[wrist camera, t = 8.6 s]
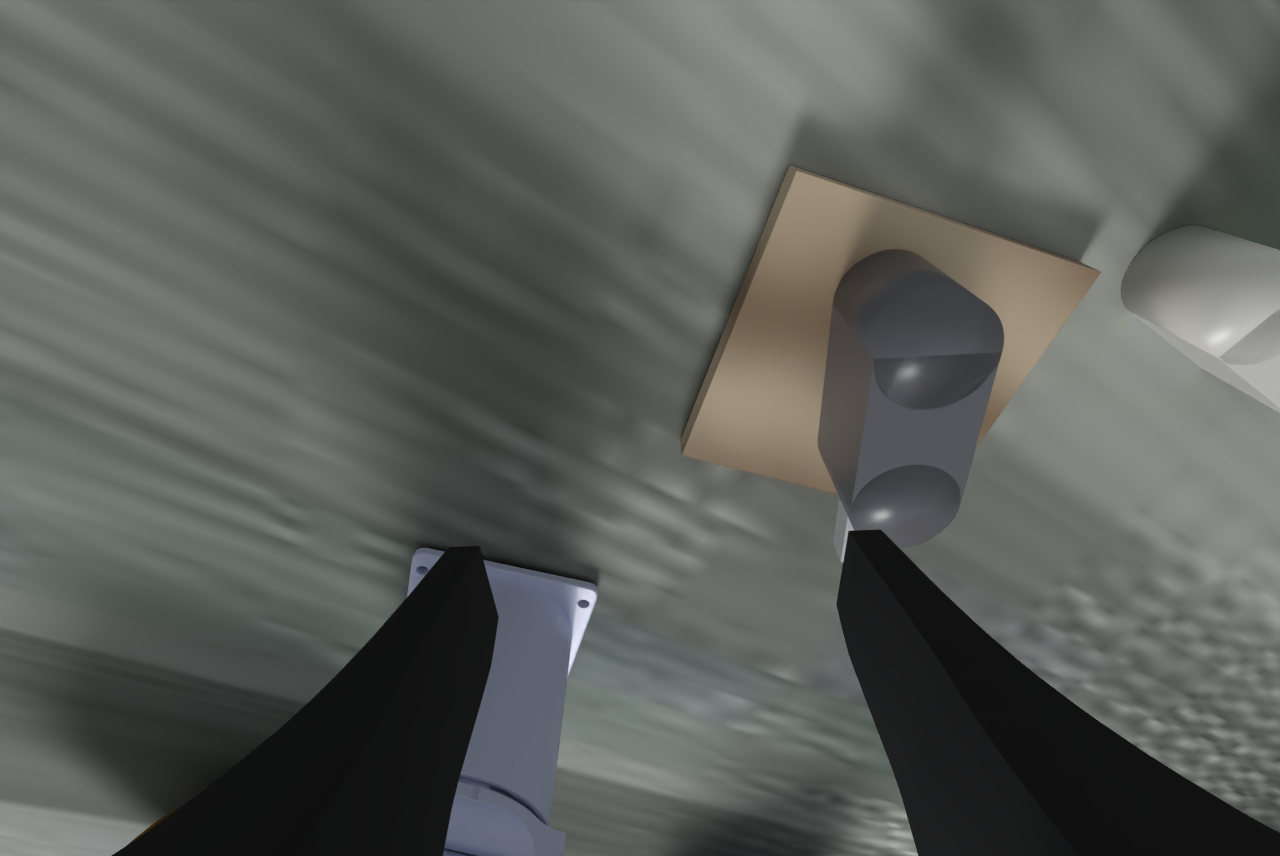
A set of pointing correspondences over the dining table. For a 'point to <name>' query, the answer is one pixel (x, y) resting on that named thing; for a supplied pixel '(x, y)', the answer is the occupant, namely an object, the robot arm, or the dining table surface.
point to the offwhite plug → (1213, 304)
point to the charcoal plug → (904, 395)
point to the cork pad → (802, 306)
